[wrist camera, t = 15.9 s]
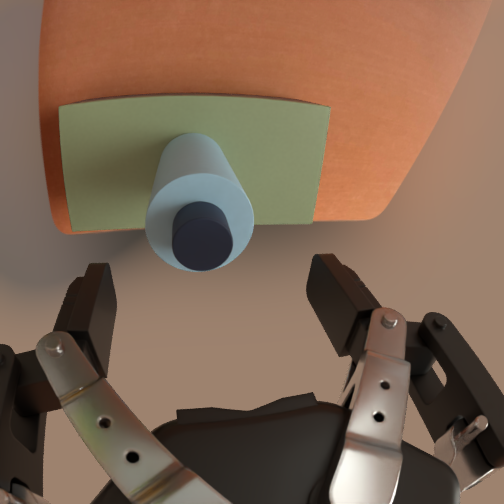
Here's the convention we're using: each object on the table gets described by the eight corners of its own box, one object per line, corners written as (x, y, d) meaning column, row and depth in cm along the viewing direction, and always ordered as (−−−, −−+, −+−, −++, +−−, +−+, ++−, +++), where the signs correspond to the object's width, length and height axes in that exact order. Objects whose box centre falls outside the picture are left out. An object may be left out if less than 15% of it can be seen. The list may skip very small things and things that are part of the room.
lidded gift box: (92, 199, 33) (72, 231, 26) (86, 99, 27) (58, 106, 20) (286, 194, 38) (312, 224, 31) (298, 99, 32) (331, 107, 25)
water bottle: (160, 195, 26) (147, 297, 15) (159, 133, 23) (136, 189, 12) (222, 194, 27) (257, 291, 16) (226, 133, 25) (269, 187, 13)
